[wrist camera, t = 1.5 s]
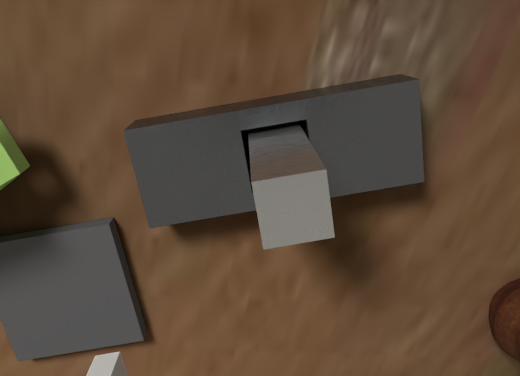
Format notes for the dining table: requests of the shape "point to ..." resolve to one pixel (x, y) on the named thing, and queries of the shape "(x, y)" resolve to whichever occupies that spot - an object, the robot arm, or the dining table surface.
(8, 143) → the green block with pegs
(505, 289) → the ceramic pot
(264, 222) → the steel peg
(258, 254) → the dining table surface
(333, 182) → the grey block with hole
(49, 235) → the rubber mat
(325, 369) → the dining table surface
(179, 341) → the dining table surface
